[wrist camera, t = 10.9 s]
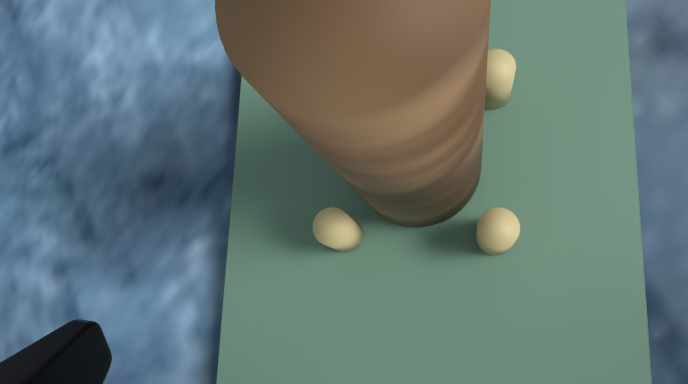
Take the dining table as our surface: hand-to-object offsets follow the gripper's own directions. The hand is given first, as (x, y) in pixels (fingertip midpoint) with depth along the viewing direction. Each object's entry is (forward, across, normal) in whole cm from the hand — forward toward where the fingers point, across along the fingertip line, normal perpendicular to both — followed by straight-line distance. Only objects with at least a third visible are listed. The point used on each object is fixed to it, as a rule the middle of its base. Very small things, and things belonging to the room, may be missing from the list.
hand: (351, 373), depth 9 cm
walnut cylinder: (+14, 0, +4) cm, 14 cm away
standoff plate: (+14, 0, +5) cm, 15 cm away
